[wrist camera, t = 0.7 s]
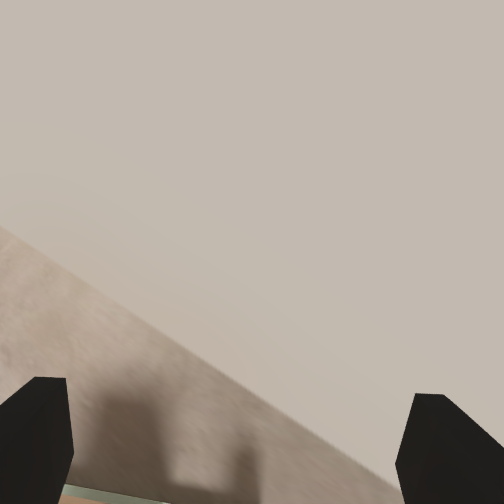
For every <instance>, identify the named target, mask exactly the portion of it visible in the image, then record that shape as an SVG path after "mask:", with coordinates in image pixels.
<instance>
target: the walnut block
mask: <svg viewBox="0 0 504 504" xmlns="http://www.w3.org/2000/svg"><path fill="white" fill-rule="evenodd" d="M58 504H109V503H104V502H99V501H94V500H89V499H83V498H78V497H73V496H68V495H63V494H61V497H60V500H59V503H58Z"/></svg>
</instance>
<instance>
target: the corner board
mask: <svg viewBox="0 0 504 504" xmlns="http://www.w3.org/2000/svg"><path fill="white" fill-rule="evenodd" d="M62 494H63V495H68V496H73V497H78V498H83V499H89V500H94V501H99V502H104V503H109V504H169V503H164V502H159V501H153V500H148V499H143V498H137V497H132V496H127V495H121V494H116V493H111V492H105V491H100V490H95V489H89V488H84V487H79V486H73V485H68V484H65V485H64V488H63V491H62Z"/></svg>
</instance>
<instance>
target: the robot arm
mask: <svg viewBox="0 0 504 504" xmlns="http://www.w3.org/2000/svg"><path fill="white" fill-rule="evenodd" d="M73 455H74V447H73V438H72V430H71V421H70V412H69V403H68V394H67V385H66V378H54V377H34V378H33V379H31V380H30V381H29V382H28V383H26V384H25V385H24V386H23V387H21V388H20V389H19V390H18V391H17V392H15V393H14V394H13V395H12V396H11V397H9V398H8V399H7V400H6V401H5V402H3V403H2V404H1V405H0V504H58V503H59V500H60V497H61V494H62V491H63V488H64V485H65V481H66V478H67V475H68V472H69V468H70V465H71V462H72V458H73ZM395 466H396V470H397V474H398V478H399V482H400V487H401V491H402V494H403V498H404V502H405V504H504V448H503V447H502V446H501V445H500V444H499V443H498V442H497V441H496V440H495V439H494V438H492V437H491V436H490V435H489V434H488V433H487V432H486V431H484V429H482V428H481V427H480V426H479V425H478V424H477V423H476V422H474V420H472V419H471V418H470V417H469V416H468V415H467V414H465V412H463V411H462V410H461V409H460V408H459V407H458V406H457V405H455V404H454V403H453V402H452V401H451V400H450V399H448V398H447V397H446V396H445V395H442V394H419V393H416V394H415V396H414V400H413V403H412V407H411V410H410V414H409V417H408V421H407V424H406V427H405V431H404V434H403V438H402V442H401V445H400V448H399V452H398V455H397V459H396V462H395Z"/></svg>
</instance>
